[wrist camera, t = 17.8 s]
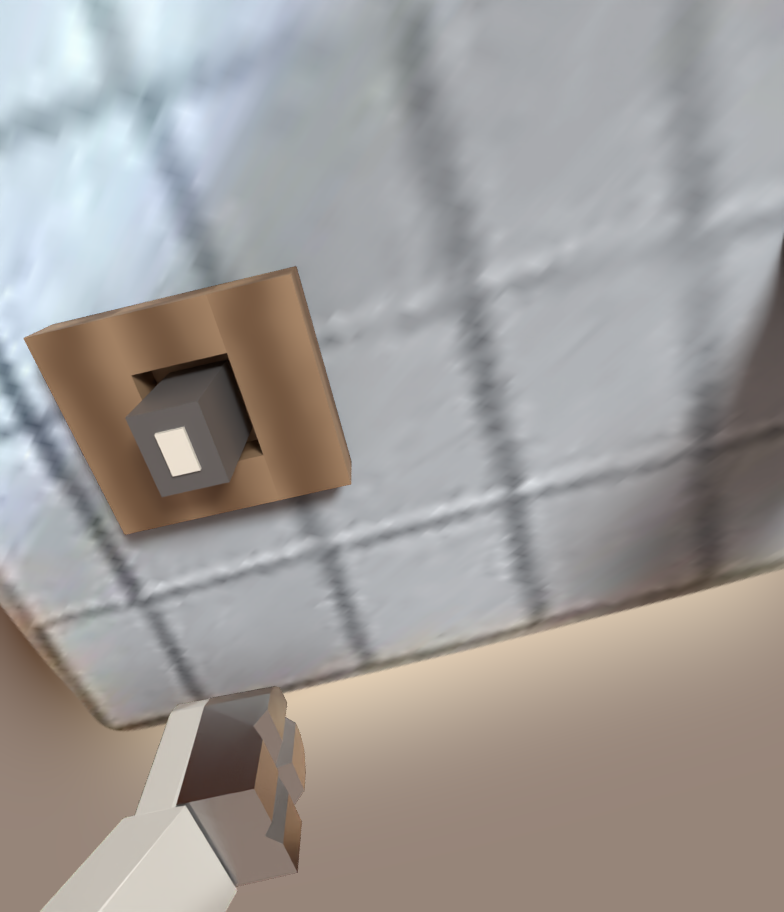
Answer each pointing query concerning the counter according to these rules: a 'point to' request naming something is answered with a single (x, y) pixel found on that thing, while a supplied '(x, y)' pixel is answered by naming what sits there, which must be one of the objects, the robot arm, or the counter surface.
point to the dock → (188, 345)
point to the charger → (192, 428)
